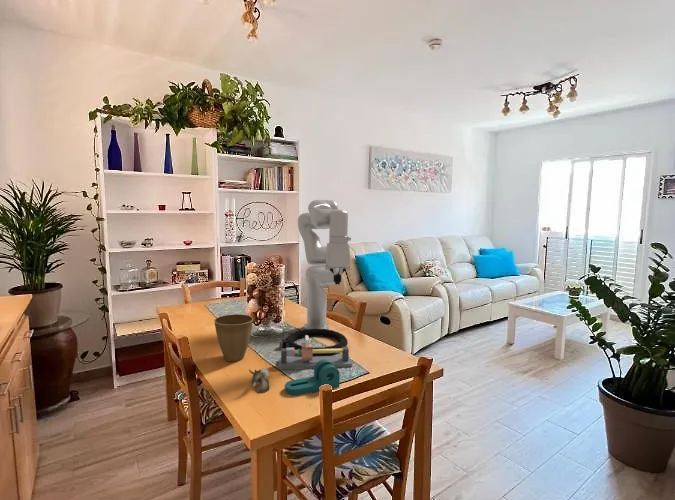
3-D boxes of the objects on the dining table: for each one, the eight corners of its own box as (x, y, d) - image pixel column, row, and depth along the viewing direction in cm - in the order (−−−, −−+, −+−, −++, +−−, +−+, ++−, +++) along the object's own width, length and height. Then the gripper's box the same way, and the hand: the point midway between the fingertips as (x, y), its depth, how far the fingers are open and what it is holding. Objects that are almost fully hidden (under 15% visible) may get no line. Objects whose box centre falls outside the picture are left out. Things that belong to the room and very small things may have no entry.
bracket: (331, 379, 135) (331, 358, 134) (339, 387, 129) (339, 365, 128) (282, 388, 127) (282, 365, 126) (288, 397, 121) (288, 374, 120)
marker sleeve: (301, 355, 149) (301, 335, 148) (311, 355, 149) (311, 335, 148) (301, 360, 144) (302, 340, 143) (312, 360, 144) (312, 339, 143)
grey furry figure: (242, 380, 130) (245, 387, 121) (253, 361, 131) (257, 367, 123) (261, 389, 132) (266, 397, 123) (272, 370, 133) (277, 377, 125)
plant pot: (258, 361, 148) (258, 321, 146) (219, 368, 141) (218, 327, 139) (247, 348, 161) (247, 311, 159) (211, 354, 154) (210, 316, 152)
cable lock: (357, 345, 158) (286, 352, 149) (356, 354, 159) (286, 362, 149) (335, 325, 184) (274, 330, 174) (335, 332, 185) (274, 338, 175)
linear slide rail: (278, 360, 149) (278, 345, 148) (348, 358, 153) (348, 343, 152) (278, 369, 141) (278, 353, 140) (351, 366, 145) (352, 350, 144)
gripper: (354, 239, 160) (353, 281, 162) (319, 239, 158) (318, 282, 160) (357, 241, 153) (356, 285, 155) (321, 240, 151) (320, 285, 153)
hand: (337, 283), depth 158 cm, fingers closed
